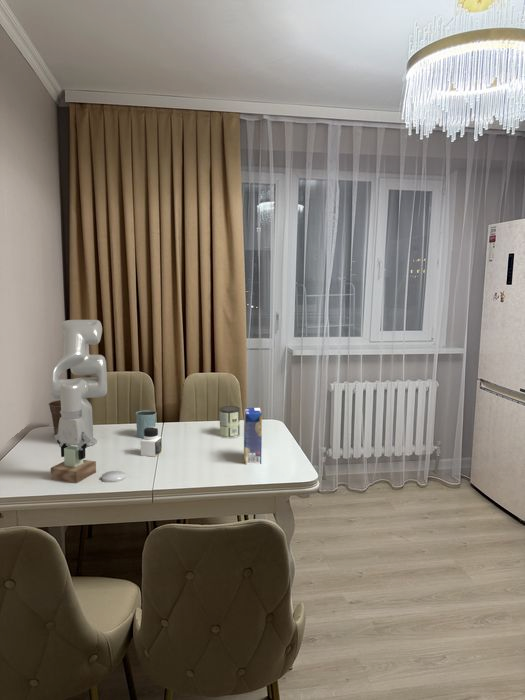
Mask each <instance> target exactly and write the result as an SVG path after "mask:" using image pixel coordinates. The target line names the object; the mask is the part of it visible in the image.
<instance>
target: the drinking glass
mask: <svg viewBox="0 0 525 700" xmlns="http://www.w3.org/2000/svg"><path fill="white" fill-rule="evenodd" d="M135 421H136V422H135V423H136V435H137V438H139V439H143V438H145V437H144V429H145V428H147V427H156V421H157V411H154V410H148V409H147V410H146V409H144V410H139V411H138V410H137V411H136V412H135Z"/></svg>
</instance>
